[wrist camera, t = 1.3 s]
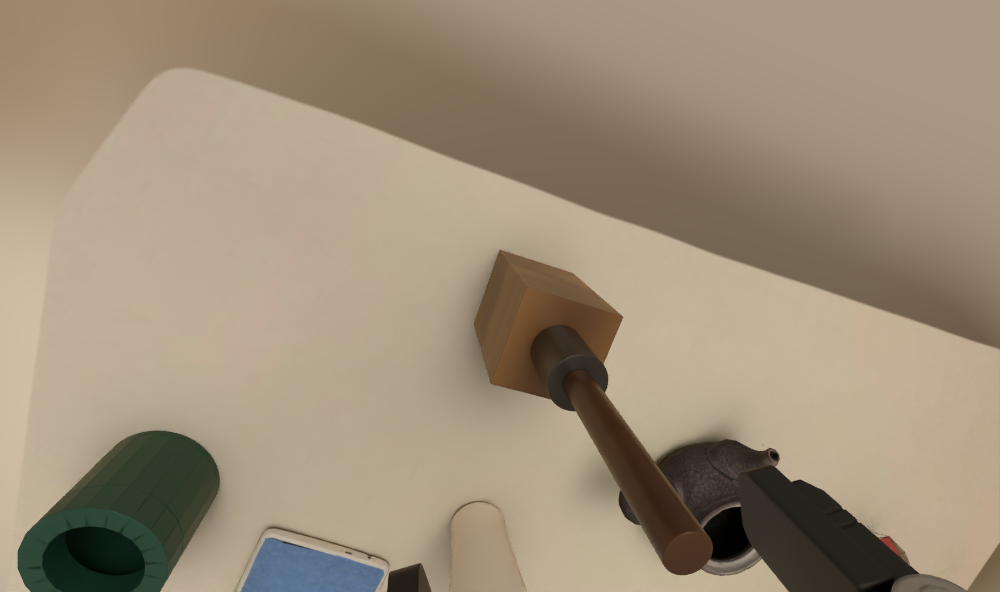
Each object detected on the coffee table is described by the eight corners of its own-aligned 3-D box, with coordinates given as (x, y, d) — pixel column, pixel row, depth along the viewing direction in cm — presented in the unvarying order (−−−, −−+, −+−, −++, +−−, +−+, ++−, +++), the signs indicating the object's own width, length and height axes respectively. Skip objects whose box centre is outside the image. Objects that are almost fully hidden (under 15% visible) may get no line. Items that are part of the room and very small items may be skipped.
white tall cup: (520, 533, 53) (555, 677, 39) (458, 559, 53) (471, 714, 39) (495, 482, 51) (524, 614, 37) (431, 509, 51) (435, 653, 36)
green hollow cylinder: (78, 479, 45) (-15, 569, 35) (154, 410, 44) (80, 483, 35) (169, 540, 48) (106, 639, 38) (242, 476, 47) (196, 561, 37)
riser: (473, 323, 46) (490, 383, 34) (499, 249, 44) (526, 286, 33) (546, 344, 47) (585, 408, 36) (573, 273, 46) (623, 316, 34)
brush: (519, 349, 34) (615, 557, 17) (561, 313, 34) (702, 488, 17) (553, 385, 35) (675, 614, 18) (593, 351, 35) (757, 551, 18)
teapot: (781, 424, 54) (857, 485, 44) (718, 546, 57) (777, 626, 48) (619, 380, 50) (666, 436, 40) (562, 513, 53) (592, 594, 44)
